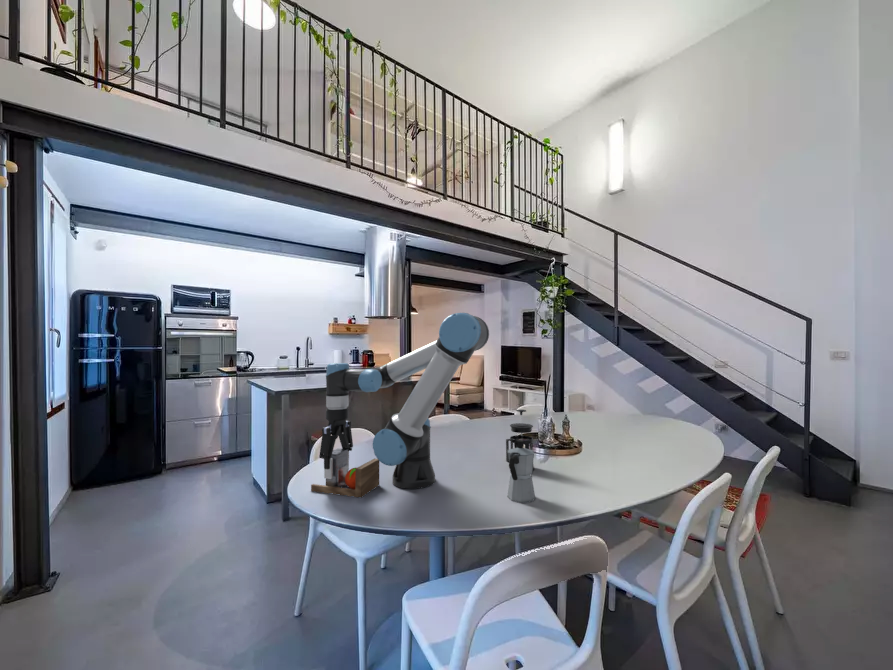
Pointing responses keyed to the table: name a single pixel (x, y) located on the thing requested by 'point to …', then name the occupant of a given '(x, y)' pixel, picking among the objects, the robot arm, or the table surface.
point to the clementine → (351, 478)
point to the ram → (339, 468)
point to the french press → (520, 429)
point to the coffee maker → (521, 474)
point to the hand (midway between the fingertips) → (336, 473)
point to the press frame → (356, 481)
